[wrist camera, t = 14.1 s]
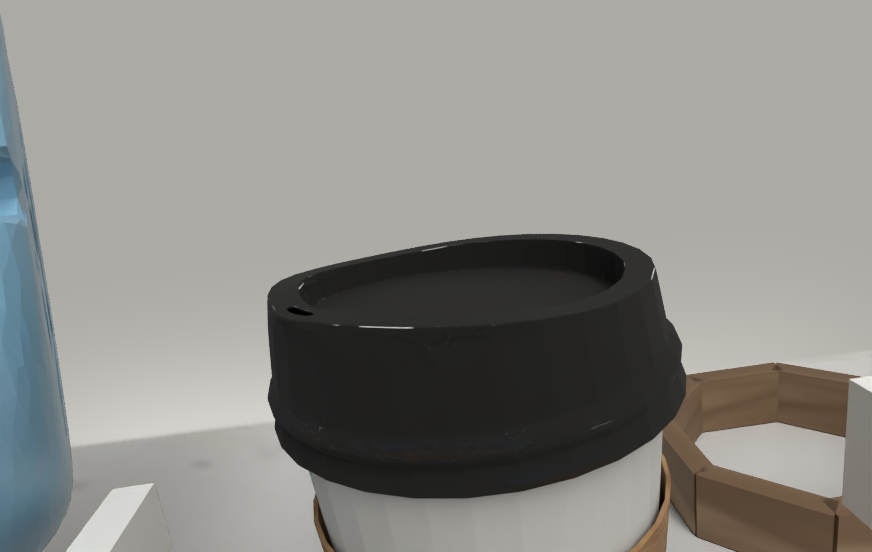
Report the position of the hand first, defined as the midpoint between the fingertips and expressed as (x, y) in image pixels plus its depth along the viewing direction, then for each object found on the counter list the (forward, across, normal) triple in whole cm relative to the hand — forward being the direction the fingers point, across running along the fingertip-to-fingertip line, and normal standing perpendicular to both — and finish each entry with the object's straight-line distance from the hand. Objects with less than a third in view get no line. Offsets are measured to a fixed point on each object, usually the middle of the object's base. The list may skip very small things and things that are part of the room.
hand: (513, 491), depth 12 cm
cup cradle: (+14, +15, -12) cm, 23 cm away
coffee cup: (+2, 0, -11) cm, 11 cm away
